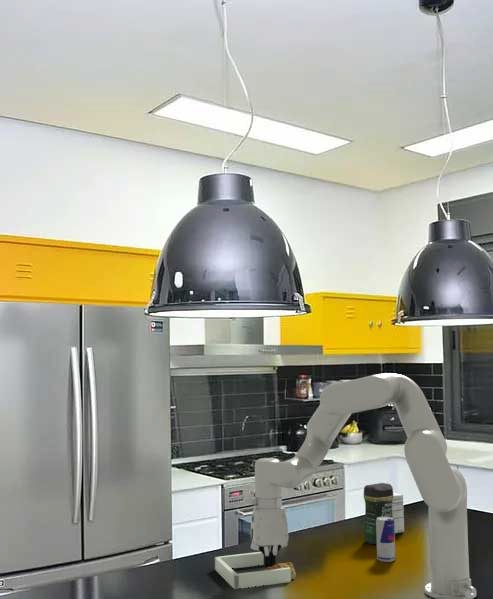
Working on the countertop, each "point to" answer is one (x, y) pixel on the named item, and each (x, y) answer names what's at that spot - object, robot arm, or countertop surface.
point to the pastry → (283, 565)
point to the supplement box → (398, 512)
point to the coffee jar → (376, 507)
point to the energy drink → (385, 539)
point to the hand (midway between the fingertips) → (269, 569)
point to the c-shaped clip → (251, 578)
